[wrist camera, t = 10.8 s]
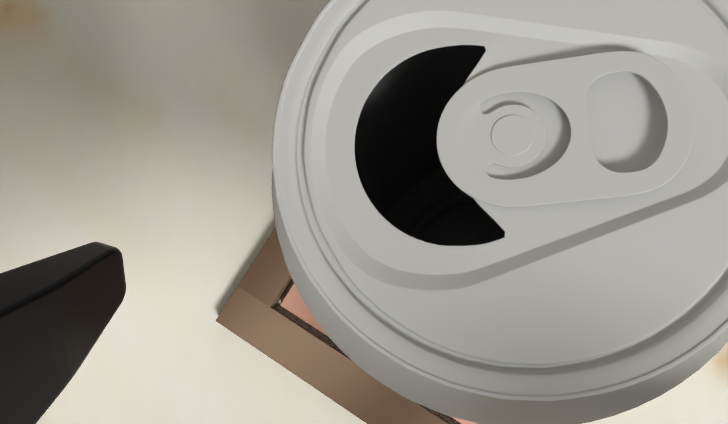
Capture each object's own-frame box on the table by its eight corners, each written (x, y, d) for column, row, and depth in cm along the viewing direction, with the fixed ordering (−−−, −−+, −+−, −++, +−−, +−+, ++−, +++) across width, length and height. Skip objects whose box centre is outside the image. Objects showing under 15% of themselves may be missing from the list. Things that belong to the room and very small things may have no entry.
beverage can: (370, 178, 20) (231, -83, 8) (589, 157, 19) (782, -169, 7) (383, 396, 18) (234, 453, 7) (621, 385, 17) (927, 430, 6)
